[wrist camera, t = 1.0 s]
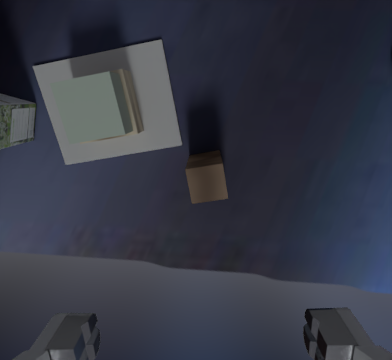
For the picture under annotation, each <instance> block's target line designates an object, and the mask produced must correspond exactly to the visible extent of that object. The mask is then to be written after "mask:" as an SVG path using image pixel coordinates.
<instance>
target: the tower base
mask: <svg viewBox="0 0 392 360" xmlns="http://www.w3.org/2000/svg"><path fill="white" fill-rule="evenodd" d="M110 72H114V73H118V74H119V75H120V79H121V83H122V87H123V91H124V95H125V99H126V103H127V107H128V111H129V115H130V119H131V123H132V127H133V131H132V132H130V133H127V134H125V135H119V136H114V137H108V138H103V139H97V140H91V141H86V142H80V144H84V143H89V142H95V141H101V140H106V139H112V138H117V137H123V136H129V135H134V134H139V133H140V132H142V131H144V128H143V124H142V120H141V115H140V111H139V107H138V103H137V98H136V94H135V90H134V86H133V81H132V77H131V73H130V71H127V70H124V69H119V70H114V71H110Z"/></svg>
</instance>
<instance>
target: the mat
mask: <svg viewBox="0 0 392 360" xmlns="http://www.w3.org/2000/svg"><path fill="white" fill-rule="evenodd" d="M33 69H34V72H35V75H36V78H37V81H38V84H39V87H40V90H41V93H42V95H43V98H44V101H45V104H46V107H47V110H48V113H49V116H50V119H51V122H52V125H53V128H54V131H55V134H56V137H57V140H58V143H59V146H60V149H61V152H62V155H63V158H64V161H65V164H66V165H69V164H75V163H81V162H86V161H92V160H98V159H104V158H110V157H116V156H121V155H127V154H133V153H139V152H145V151H151V150H156V149H162V148H168V147H174V146H180V145H182V140H181V135H180V130H179V125H178V120H177V115H176V110H175V104H174V99H173V94H172V89H171V84H170V79H169V74H168V69H167V63H166V58H165V53H164V48H163V43H162V39H161V40H156V41H151V42H147V43H142V44H137V45H132V46H128V47H123V48H118V49H113V50H109V51H104V52H99V53H94V54H90V55H85V56H80V57H75V58H71V59H66V60H61V61H56V62H52V63H47V64H42V65H37V66H33ZM119 69H124V70H127V71H130V73H131V77H132V81H133V86H134V90H135V94H136V98H137V103H138V107H139V111H140V115H141V120H142V124H143V128H144V131H142V132H140V133H139V134H134V135H129V136H123V137H117V138H112V139H106V140H101V141H95V142H89V143H84V144H80V143H75V144H69V141H68V138H67V135H66V132H65V129H64V126H63V123H62V120H61V117H60V114H59V110H58V107H57V104H56V101H55V98H54V95H53V92H52V89H51V86H50V83H54V82H59V81H64V80H69V79H74V78H79V77H83V76H88V75H93V74H98V73H103V72H108V71H114V70H119Z"/></svg>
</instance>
